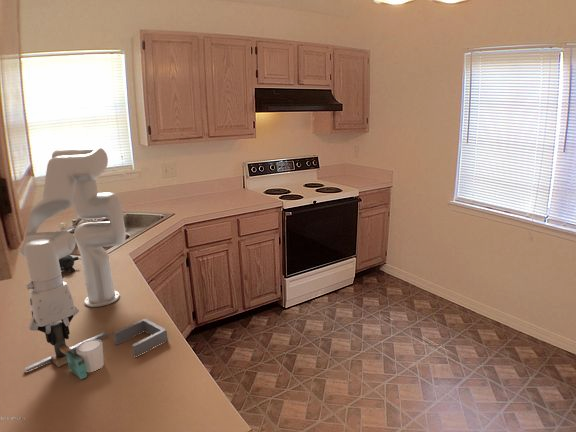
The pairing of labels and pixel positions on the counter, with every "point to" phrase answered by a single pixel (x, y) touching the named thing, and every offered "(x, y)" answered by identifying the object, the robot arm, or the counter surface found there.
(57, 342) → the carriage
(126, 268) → the counter surface
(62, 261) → the dark lidded pot
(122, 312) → the counter surface
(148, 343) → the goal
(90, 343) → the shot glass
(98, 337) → the rail
